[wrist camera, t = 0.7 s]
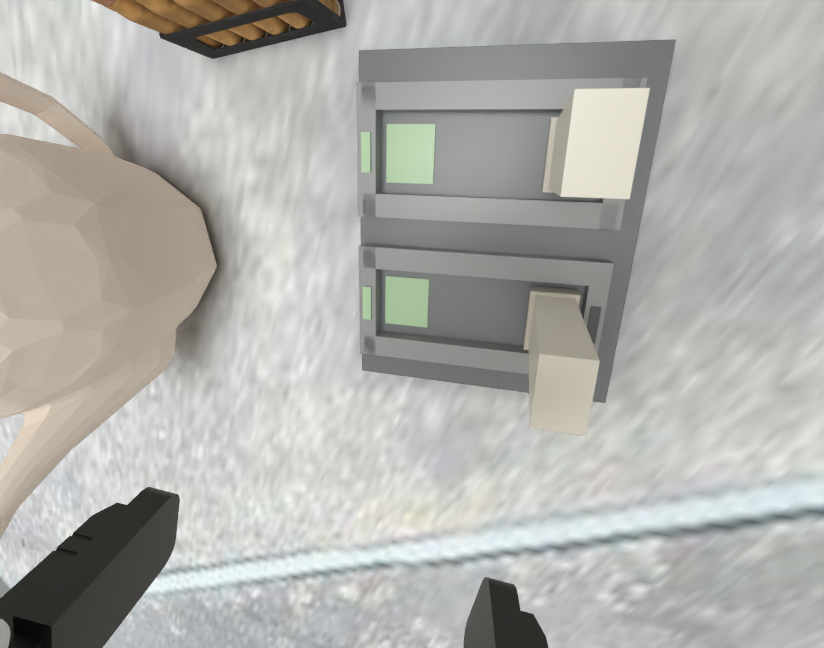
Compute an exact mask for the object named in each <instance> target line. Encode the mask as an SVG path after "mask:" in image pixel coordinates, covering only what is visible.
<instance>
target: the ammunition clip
mask: <svg viewBox="0 0 824 648" xmlns="http://www.w3.org/2000/svg"><path fill="white" fill-rule="evenodd" d="M92 1H94V2H97V3H99V4H101V5H103V6H105V7H107V8H109V9H111V10H113V11H116V12H118V13H119V14H121V15H122V16H124V17H125V18H127V19H128V20H130V21H133V22H135V23H138V24H140V25H143V26H145V27H148V28H150V29H153V30H155V31H158V32H160V33H159V34H160V37H161V38H162V39H164V40H167V41H169V42H172V43H174V44H177V45H179V46H182V47H184V48H187V49H189V50H192V51H194V52H197V53H199V54H202V55H204V56H207V57H209V58H213V59H214V58H218V57H222V56H226V55H231V54H235V53H239V52H243V51H247V50H251V49H255V48H259V47H263V46H268V45H272V44H276V43H280V42H284V41H288V40H292V39H296V38H301V37H305V36H309V35H313V34H317V33H321V32H325V31H329V30H334V29H338V28H342V27H345V26H346V20H345V13H344V6H343V0H92Z"/></svg>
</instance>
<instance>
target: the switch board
mask: <svg viewBox="0 0 824 648" xmlns="http://www.w3.org/2000/svg"><path fill="white" fill-rule="evenodd" d="M675 42H676V40H648V41H619V42H591V43H562V44H533V45H504V46H475V47H446V48H417V49H388V50H359V83H357V129H358V208H359V216H361V245H360V246H359V287H360V353H362V370H363V371H371V372H378V373H386V374H393V375H401V376H408V377H416V378H423V379H431V380H438V381H445V382H453V383H460V384H468V385H475V386H483V387H490V388H498V389H505V390H513V391H520V392H528V393H529V350H524V335H525V326H526V318H527V309H528V301H529V293H530V286H541V287H553V288H565V289H577V290H578V291H579V293H580V295H581V296H580V302H579V310H580V312H581V315H582V317H583V320H584V322H585V325H586V327H587V330H588V332H589V335H590V337H591V340H592V342H593V345H594V347H595V350H596V352H597V355H598V357H599V360H600V363H599V369H598V374H597V380H596V385H595V390H594V396H593V401H595V402H602V403H605V401H606V396H607V391H608V386H609V381H610V376H611V370H612V365H613V360H614V355H615V350H616V345H617V340H618V334H619V329H620V324H621V319H622V314H623V309H624V304H625V298H626V293H627V288H628V283H629V278H630V273H631V268H632V262H633V257H634V252H635V247H636V242H637V237H638V232H639V227H640V221H641V216H642V211H643V206H644V201H645V196H646V191H647V185H648V180H649V175H650V170H651V165H652V160H653V155H654V149H655V144H656V139H657V134H658V129H659V124H660V119H661V113H662V108H663V103H664V98H665V93H666V88H667V83H668V78H669V72H670V67H671V62H672V57H673V52H674V47H675ZM609 88H650V91H649V96H648V102H647V107H646V113H645V118H644V124H643V129H642V134H641V140H640V145H639V151H638V156H637V162H636V167H635V173H634V178H633V183H632V189H631V194H630V199H610V198H584V197H560V196H559V195H557V194H556V193H549V192H542V184H543V175H544V167H545V158H546V150H547V142H548V133H549V125H550V119H551V117H559V116H560V114H561V113H562V111H563V109H564V107H565V105H566V104H567V102H568V100H569V98H570V97H571V95H572V93H573V91H574V90H575V89H609Z"/></svg>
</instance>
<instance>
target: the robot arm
mask: <svg viewBox="0 0 824 648" xmlns="http://www.w3.org/2000/svg"><path fill="white" fill-rule="evenodd" d="M179 501H180V499H179V495H178V494H174V493H170V492H167V491H163V490H159V489H155V488H152V487H147V488H145V489H144V490H143V491H141V492H140V493H139V494H138V495H137V496H136V497H135V498H134V499H133V500H132V501H131V502H130V503H129V504H128V505H124V504H120V503H116V504H114V505H112V506H110V507H108V508H106V509H104V510H102V511H100V512H98V513H96V514H94V515H93V516H91V517H90V518H89V519H88V520H87V521H86V522H85V523H84V524H83V525H81V526H80V527H79V528H78V529H77V530H76V531H75V532H74V533H73V535H72V536H69V537H68V538H67V539H66V540H65V541H64V542H63V543H61V544H60V545H59V546H58V547H57V550H56V551H53V552H51V553H50V554H49V555H48V556H47V557H46V558H45V559H44V560H43V561H42V562H40V563H39V564H38V565H37V566H36V567H35V568H34V569H33V570H32V571H30V572H29V573H28V574H27V575H26V576H25V577H24V578H23V579H22V580H20V581H19V582H18V583H17V584H16V585H15V586H14V587H13V588H12V589H10V590H9V591H8V592H7V593H6V594H5V595H4V596H3V597H2V598H0V648H103V646H104V645H105V644H106V642H107V641H108V640H109V638H110V637H111V636H112V634H113V633H114V632H115V631H116V629H117V628H118V627H119V625H120V624H121V623H122V621H123V620H124V619H125V617H126V616H127V615H128V614H129V612H130V611H131V610H132V608H133V607H134V606H135V604H136V603H137V602H138V600H139V599H140V598H141V597H142V595H143V594H144V593H145V591H146V590H147V589H148V587H149V586H150V585H151V583H152V582H153V581H154V580H155V578H156V577H157V576H158V574H159V573H160V572H161V570H162V569H163V568H164V566H165V565H166V563H167V561H168V560H169V558H170V555H171V553H172V551H173V548H174V545H175V540H176V531H177V521H178V511H179ZM464 648H548V644H547V640H546V636H545V634H544V633H543V631H542V629H541V627H540V625H539V624H538V622H537V620H536V618H535V617H534V615H533V614H530V613H527V612H523V611H520V606H519V600H518V594H517V589H516V587H515V585H514V584H510V583H506V582H502V581H499V580H495V579H491V578H487V577H485V578H484V579H483V581H482V583H481V586H480V589H479V591H478V594H477V596H476V599H475V602H474V604H473V607H472V610H471V612H470V615H469V617H468V620H467V624H466V629H465V635H464Z"/></svg>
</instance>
